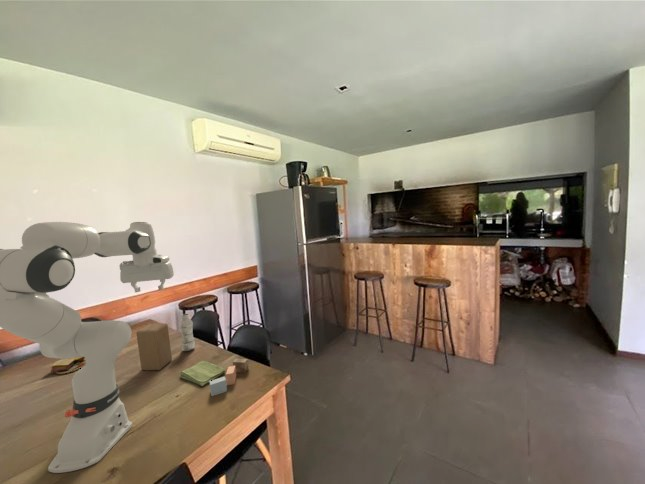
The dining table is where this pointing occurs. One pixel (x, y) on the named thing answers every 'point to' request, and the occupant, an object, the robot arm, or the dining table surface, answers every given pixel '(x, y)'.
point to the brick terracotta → (231, 375)
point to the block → (154, 346)
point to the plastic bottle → (187, 333)
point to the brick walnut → (241, 365)
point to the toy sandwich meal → (68, 365)
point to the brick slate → (218, 386)
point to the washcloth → (202, 373)
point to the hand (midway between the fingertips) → (149, 290)
